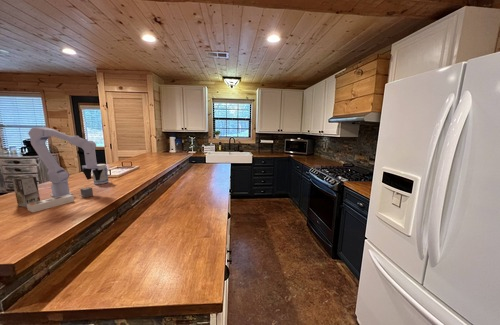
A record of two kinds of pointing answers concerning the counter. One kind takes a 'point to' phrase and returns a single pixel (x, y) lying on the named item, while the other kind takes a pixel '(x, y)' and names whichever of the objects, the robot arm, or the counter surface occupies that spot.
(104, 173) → the supplement tub
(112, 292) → the counter surface
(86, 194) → the charger
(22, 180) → the coffee box
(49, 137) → the robot arm
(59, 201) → the power strip
